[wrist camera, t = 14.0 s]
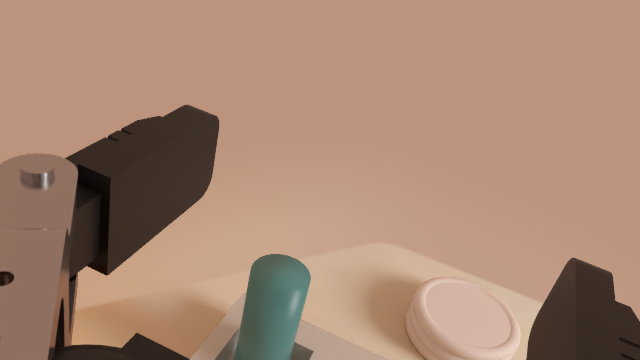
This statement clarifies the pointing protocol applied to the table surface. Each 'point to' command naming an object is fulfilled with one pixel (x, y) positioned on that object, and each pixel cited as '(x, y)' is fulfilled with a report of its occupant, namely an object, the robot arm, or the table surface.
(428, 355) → the coaster
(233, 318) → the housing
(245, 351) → the teal cylinder
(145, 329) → the table surface
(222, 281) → the table surface
